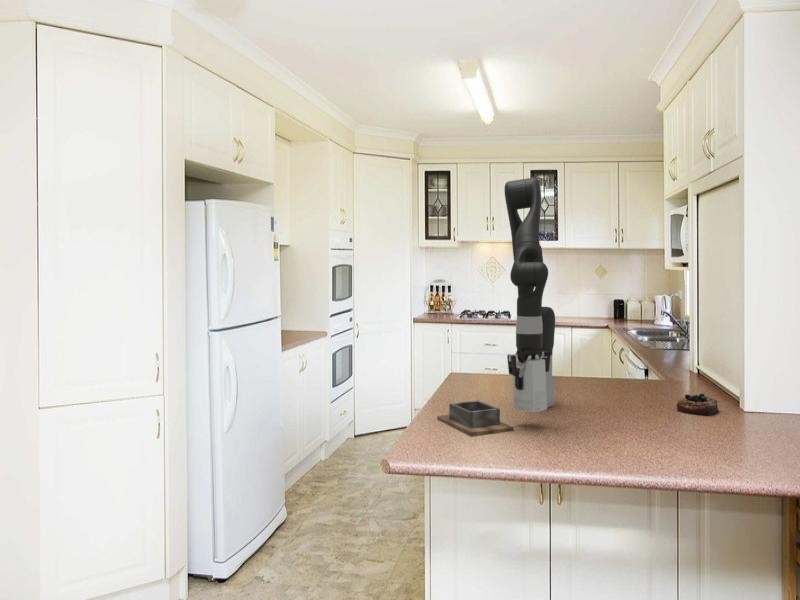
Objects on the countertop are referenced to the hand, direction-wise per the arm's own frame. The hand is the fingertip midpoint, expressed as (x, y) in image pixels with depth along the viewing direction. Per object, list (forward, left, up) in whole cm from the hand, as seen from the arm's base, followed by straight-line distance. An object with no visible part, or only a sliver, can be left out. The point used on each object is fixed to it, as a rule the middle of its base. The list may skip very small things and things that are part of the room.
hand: (529, 388), depth 175 cm
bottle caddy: (+14, -8, -11) cm, 20 cm away
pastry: (-61, +7, -12) cm, 62 cm away
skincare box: (0, 0, -6) cm, 6 cm away
